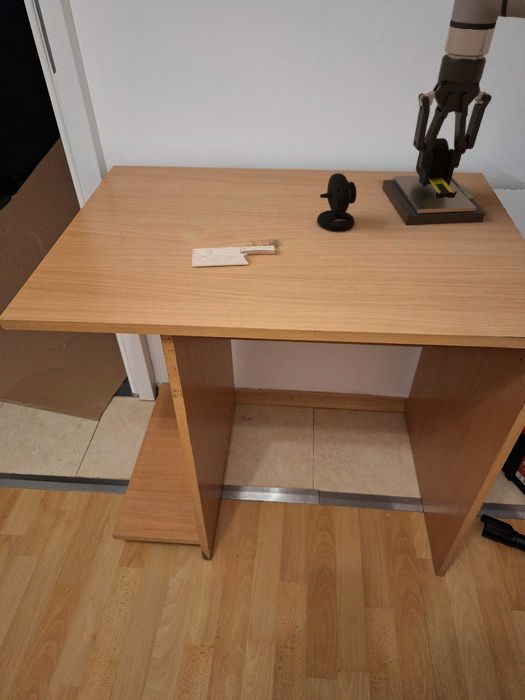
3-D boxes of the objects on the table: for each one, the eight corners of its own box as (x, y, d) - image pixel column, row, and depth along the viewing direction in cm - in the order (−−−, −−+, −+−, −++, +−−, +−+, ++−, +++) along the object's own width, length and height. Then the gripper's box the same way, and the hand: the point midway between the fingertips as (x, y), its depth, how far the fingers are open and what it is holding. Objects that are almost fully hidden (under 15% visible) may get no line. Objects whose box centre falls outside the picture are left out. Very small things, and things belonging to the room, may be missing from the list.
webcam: (360, 229, 96) (367, 180, 89) (324, 234, 94) (329, 184, 88) (345, 212, 101) (351, 165, 95) (311, 217, 100) (315, 168, 93)
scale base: (449, 186, 112) (452, 174, 110) (482, 221, 98) (486, 209, 96) (382, 188, 111) (383, 177, 109) (405, 225, 97) (408, 213, 96)
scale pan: (444, 177, 110) (445, 174, 109) (475, 211, 97) (476, 207, 96) (392, 179, 109) (393, 176, 108) (416, 213, 96) (417, 209, 96)
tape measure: (414, 171, 107) (421, 133, 102) (433, 170, 107) (442, 132, 102) (434, 199, 96) (444, 158, 91) (456, 198, 96) (466, 157, 91)
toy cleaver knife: (276, 263, 86) (276, 258, 85) (192, 267, 86) (191, 262, 85) (274, 249, 90) (274, 243, 89) (193, 252, 89) (192, 247, 89)
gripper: (502, 50, 89) (467, 174, 105) (410, 51, 88) (388, 177, 104) (522, 58, 84) (481, 189, 99) (424, 60, 83) (399, 192, 98)
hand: (434, 183), depth 101 cm, fingers closed on tape measure, 4 cm apart
